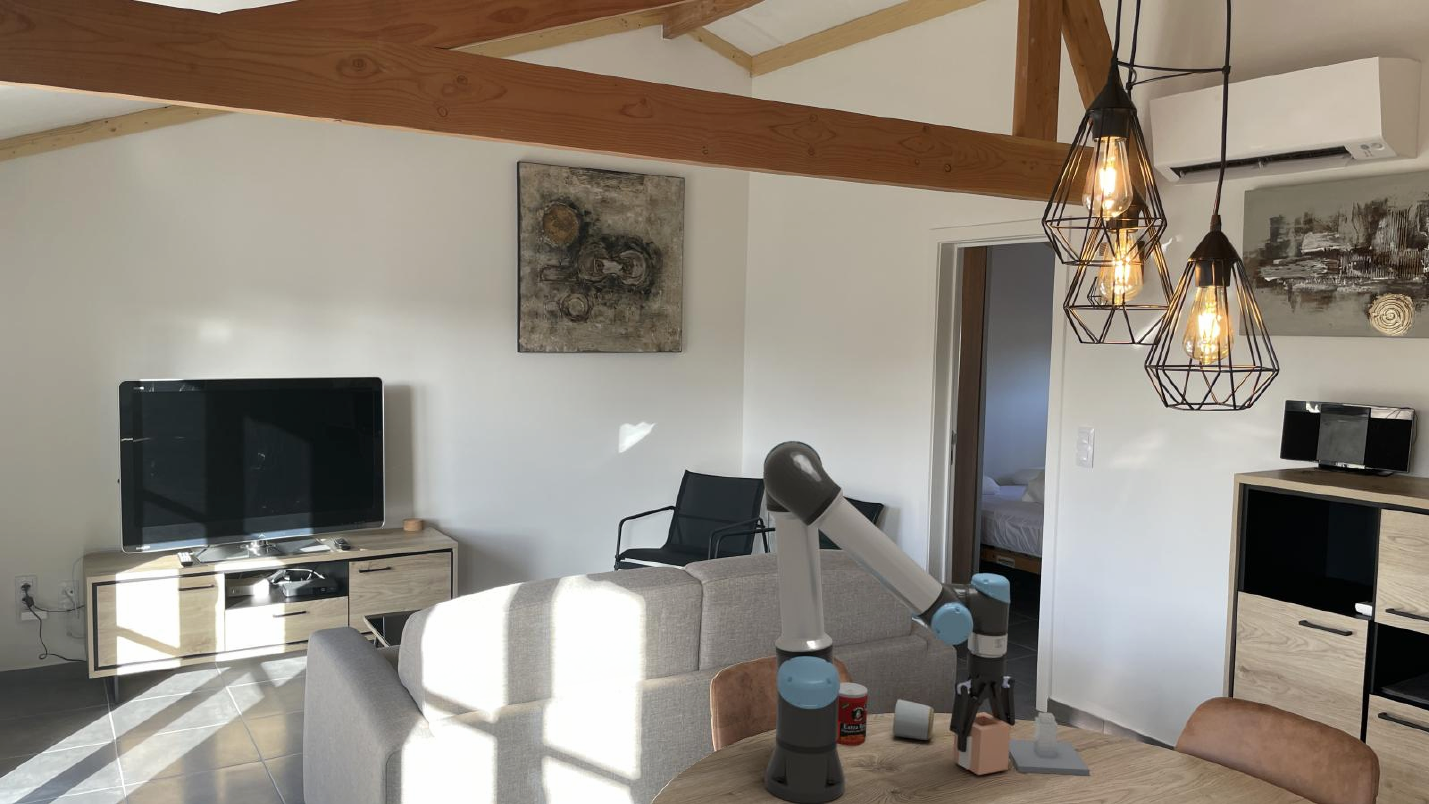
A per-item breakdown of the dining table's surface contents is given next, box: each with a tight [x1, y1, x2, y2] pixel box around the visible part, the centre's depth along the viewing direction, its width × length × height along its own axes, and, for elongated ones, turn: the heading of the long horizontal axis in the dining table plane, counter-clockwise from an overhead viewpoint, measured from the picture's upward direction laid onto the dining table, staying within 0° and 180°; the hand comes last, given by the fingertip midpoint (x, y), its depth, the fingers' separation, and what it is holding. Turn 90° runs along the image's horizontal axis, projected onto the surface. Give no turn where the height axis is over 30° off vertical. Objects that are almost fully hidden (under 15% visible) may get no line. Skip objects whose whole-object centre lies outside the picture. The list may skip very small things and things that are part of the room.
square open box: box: [952, 711, 1012, 776], centre depth 207 cm, size 8×8×9 cm
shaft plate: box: [1009, 738, 1091, 777], centre depth 213 cm, size 14×14×1 cm
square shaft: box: [1033, 711, 1059, 758], centre depth 213 cm, size 4×4×8 cm
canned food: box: [837, 681, 869, 746], centre depth 221 cm, size 8×8×11 cm
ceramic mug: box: [892, 698, 935, 741], centre depth 224 cm, size 11×8×8 cm
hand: (980, 763), depth 208 cm, fingers closed on square open box, 8 cm apart
